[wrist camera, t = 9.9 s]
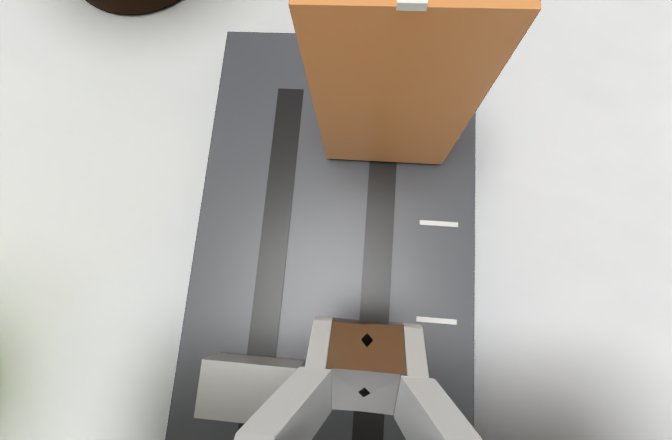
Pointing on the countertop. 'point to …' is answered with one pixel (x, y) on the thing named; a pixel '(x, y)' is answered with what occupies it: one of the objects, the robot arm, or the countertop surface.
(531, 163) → the countertop surface
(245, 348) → the console
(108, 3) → the olive oil
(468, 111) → the fader lever
